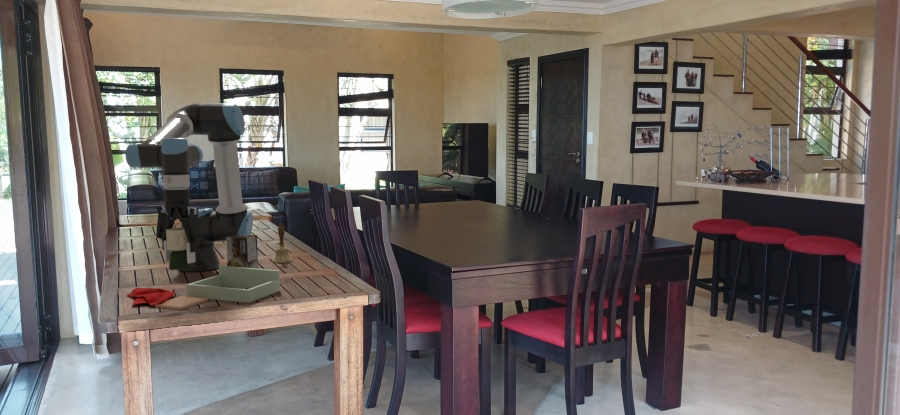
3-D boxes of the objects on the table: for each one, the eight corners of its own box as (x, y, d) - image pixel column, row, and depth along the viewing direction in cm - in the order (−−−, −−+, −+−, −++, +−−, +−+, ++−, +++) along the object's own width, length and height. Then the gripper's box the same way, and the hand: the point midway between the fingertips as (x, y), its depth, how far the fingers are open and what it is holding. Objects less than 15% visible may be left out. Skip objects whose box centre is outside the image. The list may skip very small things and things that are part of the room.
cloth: (180, 301, 209) (180, 294, 208) (131, 308, 202) (131, 300, 202) (170, 287, 231) (169, 280, 231) (125, 292, 224) (125, 286, 224)
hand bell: (268, 262, 277) (266, 224, 275) (280, 258, 284) (279, 221, 282) (284, 263, 274) (283, 225, 272) (296, 260, 281) (295, 222, 279)
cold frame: (187, 296, 219) (186, 275, 218) (221, 285, 235) (220, 265, 234) (248, 302, 211) (248, 280, 210) (280, 290, 227) (279, 270, 226)
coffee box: (259, 278, 246) (258, 234, 245) (248, 282, 240) (247, 237, 238) (238, 276, 249) (236, 233, 247) (227, 280, 243) (225, 236, 241)
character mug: (196, 272, 206) (194, 230, 204) (171, 274, 202) (169, 231, 201) (188, 266, 215) (187, 226, 214) (164, 268, 211) (163, 227, 210)
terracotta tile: (154, 307, 206) (154, 304, 206) (182, 297, 217) (182, 295, 217) (181, 309, 202) (181, 307, 202) (208, 300, 214) (208, 298, 214)
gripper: (140, 188, 206) (144, 261, 208) (195, 190, 199) (199, 266, 201) (158, 186, 213) (162, 257, 215) (212, 188, 206) (215, 261, 208)
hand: (179, 261), depth 208 cm, fingers closed on character mug, 8 cm apart
